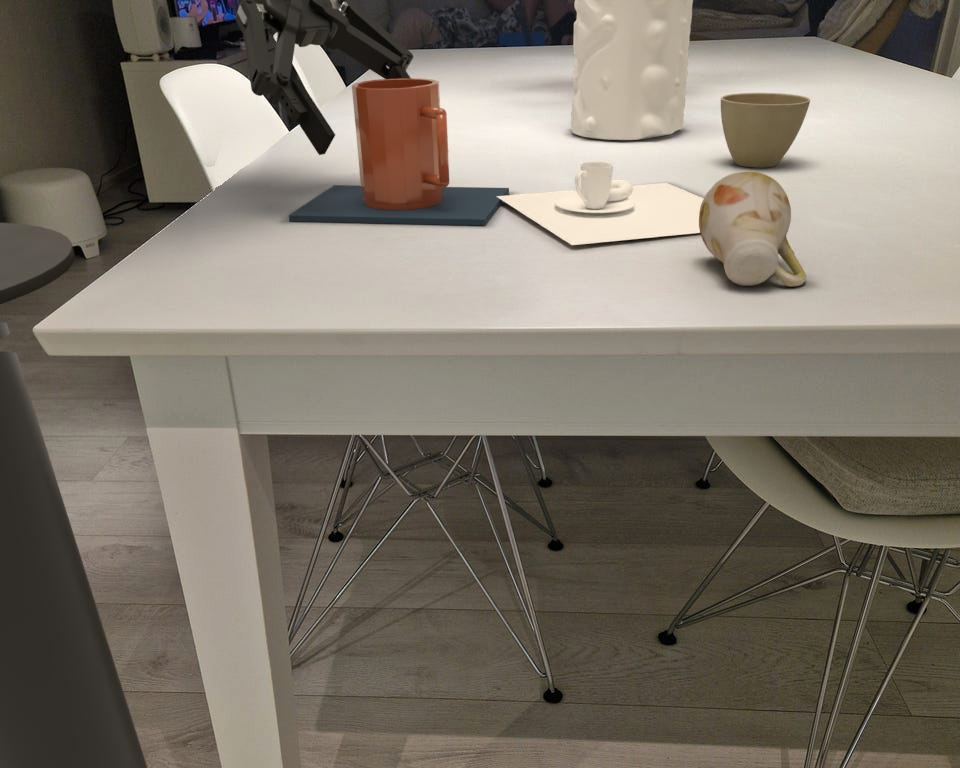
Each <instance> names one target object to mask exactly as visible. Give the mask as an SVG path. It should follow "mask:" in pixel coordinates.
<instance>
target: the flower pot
mask: <svg viewBox="0 0 960 768" xmlns="http://www.w3.org/2000/svg"><path fill="white" fill-rule="evenodd" d="M810 102H811V98H810V97H807V96H803V95H798V94H791V93H781V92H780V93H777V92H742V93H741V92H739V93H731V94H730V93H729V94H725V95H722V96H720V118H721V125H722V130H723V135H724V139H725V142H726V146H727V149H728V151H729V154H730V156H731V159H732V161H733V163H734V164H735V165H737V166H740V167H746V168H758V169H759V168H760V169H761V168H772V167H776V166H777V165H778V164H779V163H780V162H781V161H782V160H783V158H784V157H785V155H786V154H787V152H788V151H789V150H790V148H791V146H792V145H793V143H794V141H795V140H796V138H797V136H798V134H799V132H800V131H801V128H802V125H803V124H804V121H805V118H806V115H807V113H808V110H809V107H810Z"/></svg>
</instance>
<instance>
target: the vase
mask: <svg viewBox="0 0 960 768" xmlns="http://www.w3.org/2000/svg"><path fill="white" fill-rule="evenodd" d="M693 2H694V0H574V3H573V4H574V5H573V6H574V10H575V11H576V18H575V19H576V20H575V21H574V22H573V42H572V43H573V44H572V48H573V55H574V57H576V59H575V61H574V64H573V65H574V66H573V70H572V71H573V72H572V89H573V92H574V98H573V99H572V102H571V111H570V116H571V117H570V118H571V119H570V120H571V121H570V131H571V132H572V134H574V135H577V136H579V137H584V138H588V139H589V138H590V139H595V140H596V139H597V140H598V139H599V140H608V141H609V140H610V141H613V140H614V141H634V140H635V141H639V140H647V139H652V138H658V137H663V136H667V135H668V136H669V135H672V134H674V133H675V132H677V131H680V130H683V129H684V128H685V121H684V118H685V107H686V93H687V89H686V88H687V87H686V86H687V82H688V81H687V79H688V67H689V56H690V55H689V54H690V53H689V46H690V42H691V41H690V36H691V28H692V27H691V26H692V18H693Z"/></svg>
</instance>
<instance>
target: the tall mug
mask: <svg viewBox="0 0 960 768" xmlns="http://www.w3.org/2000/svg"><path fill="white" fill-rule="evenodd" d="M351 92H352V103H353V114H354V115H353V116H354V125H355V136H356V146H357V147H356V148H357V158H358V168H359V169H358V170H359V180H360V186H361V191H362V197H363V203H364V205H366V206H368V207H371V208H375V209H382V210H412V209H420V208H426V207H431V206H434V205H437V204H439V203H441V202H442V201H443V200H444V187H449V185H450V164H449V163H450V162H449V160H450V159H449V141H448V117H447V111H446V110H445V108H442V107H441V96H440V81H439V80H435V79H431V78H418V77H410V78H397V79H384V78H382V79H380V78H379V79H371V80H364V81H359V82H354V83H353V84H352V85H351Z"/></svg>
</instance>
